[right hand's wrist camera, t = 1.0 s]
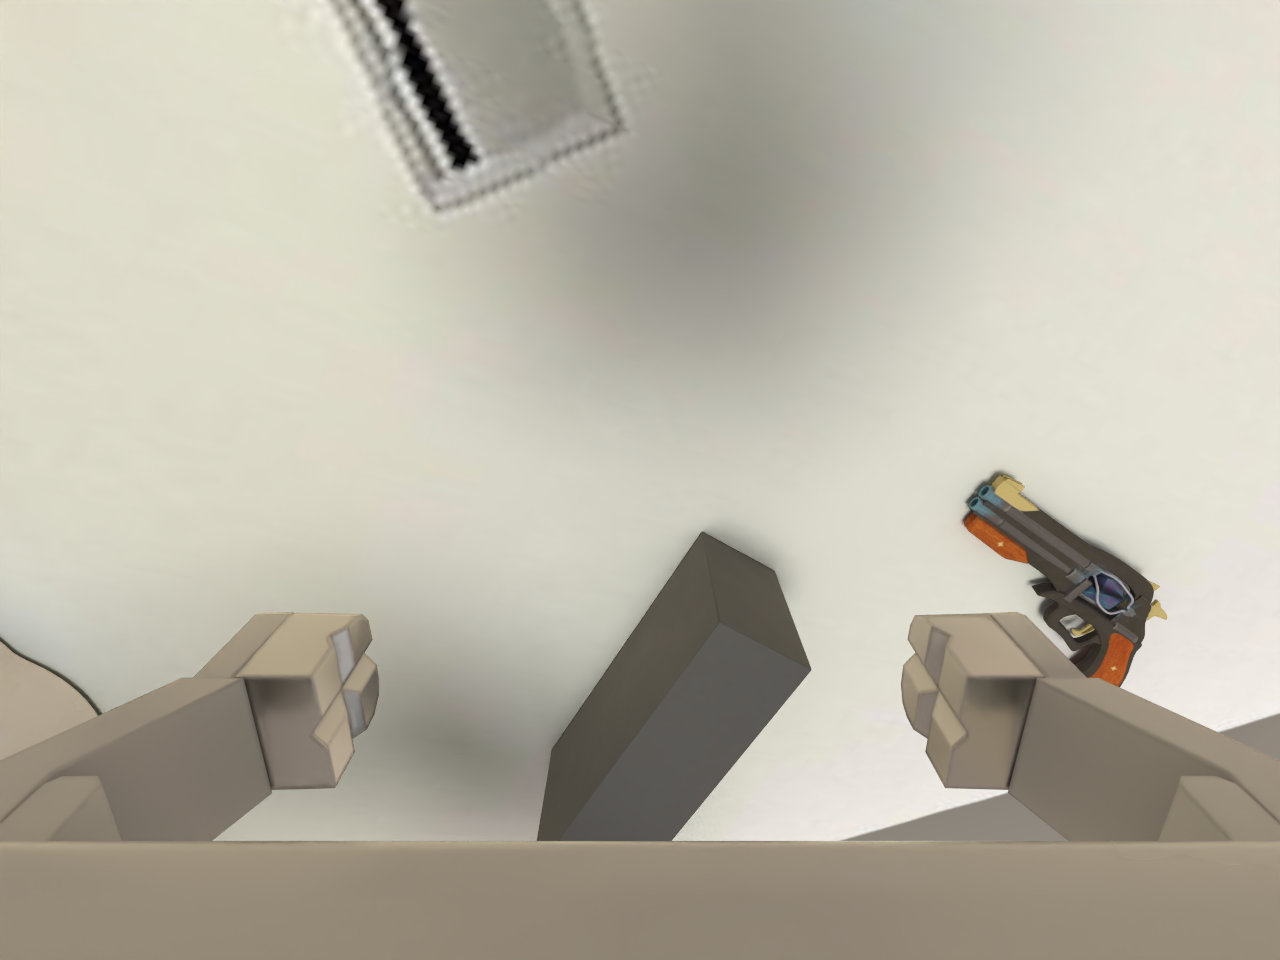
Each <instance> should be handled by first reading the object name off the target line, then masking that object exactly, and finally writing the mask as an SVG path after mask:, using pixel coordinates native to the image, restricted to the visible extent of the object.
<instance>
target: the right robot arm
mask: <svg viewBox="0 0 1280 960" xmlns="http://www.w3.org/2000/svg"><path fill="white" fill-rule="evenodd" d="M371 641H372V635H371V630H370V626H369V621H368V619H367V618H366V617H365V616H364V615H363V614H329V613H296V614H295V613H293V612H287V613H261V614H257V615H255V616H254V617H253V618H252V619H251V620H250V621H249V622H248V623H247V624H246V625H245V626H244V627H243V628H242V629H241V630H240V631H239V632H238V633H237V634H236V635H235V636H234V637H233V638H232V639H231V640H230V641H229V642H228V643H227V644H226V645H225V646H224V647H223V648H222V649H221V650H220V651H219V652H218V653H217V654H216V655H215V656H214V657H213V658H212V659H211V660H210V661H209V662H208V663H207V664H206V665H205V666H204V667H203V668H202V669H201V670H200V671H199V672H198V673H197V674H196V675H195V676H194V677H193V678H181V679H178V680H176V681H174V682H172V683H170V684H167V685H165V686H163V687H161V688H159V689H156V690H154V691H152V692H150V693H148V694H145V695H143V696H141V697H139V698H137V699H134V700H132V701H130V702H128V703H126V704H123V705H121V706H119V707H117V708H115V709H112V710H110V711H108V712H106V713H104V714H101V715H99V716H97V717H95V718H93V719H90V720H88V721H86V722H84V723H81V724H79V725H77V726H75V727H73V728H70V729H68V730H66V731H64V732H62V733H59V734H57V735H55V736H53V737H51V738H48V739H46V740H44V741H42V742H40V743H37V744H35V745H33V746H31V747H29V748H26V749H24V750H22V751H20V752H18V753H15V754H13V755H11V756H9V757H7V758H4V759H2V760H0V960H1280V761H1279V760H1277V759H1275V758H1273V757H1271V756H1268V755H1266V754H1264V753H1262V752H1260V751H1258V750H1255V749H1253V748H1251V747H1249V746H1247V745H1244V744H1242V743H1240V742H1238V741H1235V740H1233V739H1231V738H1229V737H1227V736H1225V735H1222V734H1220V733H1218V732H1216V731H1214V730H1211V729H1209V728H1207V727H1205V726H1203V725H1200V724H1198V723H1196V722H1194V721H1192V720H1189V719H1187V718H1185V717H1183V716H1181V715H1179V714H1176V713H1174V712H1172V711H1170V710H1168V709H1165V708H1163V707H1161V706H1159V705H1157V704H1154V703H1152V702H1150V701H1148V700H1146V699H1143V698H1141V697H1139V696H1137V695H1135V694H1132V693H1130V692H1128V691H1126V690H1124V689H1121V688H1119V687H1117V686H1115V685H1113V684H1110V683H1108V682H1106V681H1104V680H1102V679H1100V678H1087V677H1086V676H1085V675H1084V674H1083V673H1082V672H1081V671H1080V670H1079V669H1078V668H1077V667H1076V666H1075V665H1074V664H1073V663H1072V662H1071V661H1070V660H1069V659H1068V658H1067V657H1066V656H1065V655H1064V654H1063V653H1062V652H1061V651H1060V650H1059V649H1058V648H1057V647H1056V646H1055V645H1054V644H1053V643H1052V642H1051V641H1050V640H1049V639H1048V638H1047V637H1046V636H1045V635H1044V634H1043V633H1042V632H1041V631H1040V630H1039V629H1038V628H1037V627H1036V625H1035V624H1034V623H1033V622H1032V621H1031V620H1030V619H1029V618H1028V617H1027V616H1025V615H1023V614H1020V613H1018V612H1007V613H983V614H946V615H915V616H914V618H913V620H912V622H911V625H910V629H909V635H908V641H909V643H910V644H911V646H912V647H913V649H914V651H915V652H916V653H915V654H914V655H913V656H912V657H911V658H910V659H909V660H908V661H907V662H906V663H905V664H904V665H903V672H902V680H901V690H902V701H903V706H904V709H905V712H906V715H907V718H908V720H909V722H910V724H911V726H912V728H913V729H914V730H915V731H917V732H918V733H920V734H921V735H923V736H924V737H926V738H927V739H928V740H927V746H926V754H927V756H928V757H929V759H930V761H931V763H932V765H933V767H934V768H935V770H936V772H937V774H938V776H939V778H940V779H941V781H942V783H943V785H944V787H945V788H964V789H1000V790H1008V793H1009V794H1010V795H1012V796H1013V797H1014V798H1015V799H1017V800H1018V801H1019V802H1021V803H1022V804H1023V805H1024V806H1025V807H1027V808H1028V809H1029V810H1030V811H1032V812H1033V813H1034V814H1035V815H1037V816H1038V817H1039V818H1040V819H1042V820H1043V821H1044V822H1046V823H1047V824H1048V825H1049V826H1051V827H1052V828H1053V829H1054V830H1056V831H1057V832H1058V833H1059V834H1061V835H1062V836H1063V837H1064V838H1066V839H1067V840H1068V841H212V840H213V839H215V838H216V837H217V836H218V835H220V834H221V833H222V832H223V831H225V830H226V829H227V828H228V827H230V826H231V825H232V824H234V823H235V822H236V821H237V820H239V819H240V818H241V817H242V816H244V815H245V814H246V813H247V812H249V811H250V810H251V809H252V808H254V807H255V806H256V805H257V804H259V803H260V802H261V801H262V800H264V799H265V798H266V797H267V796H269V795H270V794H271V793H272V790H280V789H315V788H335V787H336V785H337V783H338V781H339V780H340V778H341V776H342V774H343V772H344V770H345V769H346V767H347V765H348V763H349V761H350V759H351V758H352V756H353V754H354V746H353V740H352V739H353V738H354V737H356V736H357V735H359V734H360V733H362V732H363V731H365V730H366V729H367V728H368V726H369V724H370V722H371V720H372V718H373V716H374V713H375V708H376V704H377V700H378V695H379V678H378V671H377V665H376V664H375V663H374V662H373V661H372V660H371V659H370V658H369V657H368V656H367V655H366V654H365V653H364V652H365V651H366V649H367V647H368V646H369V644H370V643H371Z"/></svg>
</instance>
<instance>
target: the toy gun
mask: <svg viewBox="0 0 1280 960" xmlns="http://www.w3.org/2000/svg"><path fill="white" fill-rule="evenodd" d="M1021 484H1022V483H1021V482H1019V481H1016V480H1014V479H1012V478H1010V477H1008V476H1006V475H1003V476H999V477H998V478H997V479H996V480H995V481H994V482H993V483H992V485H991V486H990V485H985V486H984V487H982V488H981V490H980V491H979V494H978V495H979V497H981V498H979V497H975V498H973V499H972V500H971V501H970V503H969V508H970V509H971V511H972V512H973V513H972V514H971V515H970V516H969V517H968V518H967V519H966V521H965V523H964V525H965V526H966V528H967V529H968V531H970V532H971V533H972V534H973V535H975V536H976V537H977V538H979V539H980V540H981V541H982V542H984V543H985V544H986V545H988V546H989V547H990V548H991V549H993V550H994V551H995V552H997V553H998V554H999V555H1001V556H1002V557H1004V558H1006V559H1009V560H1014V561H1018V562H1022V563H1027V564H1028V563H1029V564H1030V565H1032V566H1033V567H1034V568H1036V569H1037V570H1039V571H1040V572H1041V573H1043V574H1044V575H1045V576H1046V577H1047V578H1048V579H1049V580H1050V581H1051V583H1044V584H1038V585H1033V586H1032V588H1033V589H1034V591H1035V592H1036V593H1037V595H1039V596H1042V597H1045V598H1049V599H1051V600H1054V601H1055V602H1054V603H1053V604H1052V605H1051V606H1049V607H1048V608H1047V609H1046V611H1045V613H1044V616H1043V618H1044V621H1045V622H1046V623H1047V625H1048V626H1049V627H1050V628H1052V629H1053V630H1054V631H1056V632H1057V633H1058V634H1059V635H1060V636H1061V637H1062V638H1063V639H1064V641H1065V642H1066V644H1067V645H1068V647H1069V648H1070V649H1071V650H1072V651H1076V650H1078V649H1080V648H1082V647H1084V646H1086V645H1089V644H1092V643H1093V644H1092V646H1091V647H1090V649H1089V651H1088V653H1087V654H1086V656H1085V657H1084V658H1083V659H1082V660H1081V661H1079V662H1078V663H1076V664H1074V665H1075V666H1076V667H1077V668H1078V669H1079V670H1080V671H1081V672H1082V673H1083V674H1084V675H1085V676H1086V677H1087V678H1100V679H1102V680H1104V681H1106V682H1108V683H1110V684H1113V685H1115V686H1117V687H1119V688H1120V686H1121V685H1122V683H1123V681H1124V680H1125V678H1126V676H1127V674H1128V672H1129V669H1130V666H1131V663H1132V660H1133V657H1134V655H1135V653H1136V651H1137V650H1138V649H1139V648H1140V647H1141V646H1142V644H1141V642H1142V641H1143V639H1144V636H1145V622H1146V620H1148V619H1150V618H1152V617H1154V616H1157V617H1160V618H1163V619H1165V620H1166V619H1167V615H1166V613H1165V612H1164V611H1163V610H1162V609H1161V608H1160V603H1159V601H1158V600H1154V601H1153V602H1152V603H1151V601H1152V598H1153V593H1154V591H1155V590H1156V589H1158V588H1159V587H1160V586H1158V585H1156V584H1154V583H1152V582H1150V581H1148V580H1147V579H1146V578H1144V577H1143V576H1142V575H1141V574H1139V573H1138V572H1136V571H1135V570H1134V569H1132V568H1131V567H1130V566H1128V565H1127V564H1125V563H1124V562H1123V561H1121V560H1119V559H1118V558H1116V557H1114V556H1113V555H1111V554H1108V553H1106V552H1104V551H1102V550H1100V549H1097V548H1095V547H1092V546H1090V545H1089V544H1087V543H1086V542H1084V541H1083V540H1081V539H1080V538H1079V537H1077V536H1076V535H1074V534H1073V533H1072V532H1070V531H1069V530H1068V529H1066V528H1065V527H1063V526H1062V525H1061V524H1059V523H1058V522H1056V521H1055V520H1054V519H1052V518H1051V517H1050V516H1048V515H1047V514H1045V513H1044V512H1043V511H1041V510H1040V509H1039V508H1037V507H1036V506H1035V505H1034V504H1033V503H1031V502H1030V501H1029V500H1027V499H1026V498H1025V497H1023V496H1022V495H1021V494H1019V493H1020V492H1021V491H1022V490H1023V489H1024V488H1025V486H1023V485H1021ZM1111 573H1112V574H1114V575H1115V576H1117V577H1118V578H1120V579H1121V580H1123V581H1124V582H1125V583H1126V584H1128V586H1129V588H1130V592H1129V591H1128V589H1127V588H1126V587H1125V586H1124V584H1123V583H1122V581H1120V580H1119V579H1118V578H1116V577H1115V576H1113V575H1112V574H1111ZM1123 588H1124V590H1125V591H1126V592H1127V594H1126V595H1125V596H1124V594H1123ZM1081 593H1082V594H1083V595H1085V596H1087V597H1088V598H1090V599H1092V600H1093V601H1095V602H1096V603H1097V604H1098V606H1099V607H1100V608H1101V609H1102V610H1103V611H1104V612H1102V611H1100V610H1099V609H1097V608H1096V607H1095V606H1093V605H1092V604H1090V603H1089V602H1087V601H1085V600H1084V599H1082V598H1081V597H1079V595H1080V594H1081ZM1102 606H1103V607H1104V608H1106V609H1107V610H1105V609H1104V608H1103V607H1102ZM1074 614H1076V615H1078V616H1079V617H1081V618H1082V619H1084V620H1085V621H1086V622H1088V624H1087V625H1085V626H1084V627H1082V628H1081V629H1079V630H1076V629H1073V628H1071V632H1072V633H1073V635H1074V636H1079V635H1083V634H1086V635H1084V636H1081V637H1077V638H1073V637H1072V636H1071V635H1070V634H1069V632H1068V631H1067V630H1066V628H1065V627H1064V626H1063V625H1062V624H1061V623H1060V622H1059V621H1060V619H1062V618H1063V617H1065V616H1069V615H1074ZM1091 626H1092V627H1091ZM1088 628H1089V629H1088Z"/></svg>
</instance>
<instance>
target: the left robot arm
mask: <svg viewBox="0 0 1280 960" xmlns="http://www.w3.org/2000/svg"><path fill="white" fill-rule="evenodd" d="M97 716H98V715H97V713H96V712H95V710H94V709H93V708H92V706H91V705H90V704H89V703H88V702H87V700H86V699H85V698H84V697H83V696H82V695H81V694H80V693H79V692H78V691H77V690H75V689H74V688H73V687H72V686H71V685H69V684H68V683H67V682H65V681H64V680H63V679H61V678H60V677H58V676H57V675H55V674H53V673H51V672H50V671H48V670H46V669H44V668H42V667H40V666H38V665H36V664H34V663H32V662H30V661H27V660H25V659H23V658H22V657H20V656H18V655H16V654H15V653H13V652H12V651H11V650H10V649H9V648H8V647H6V646H5V645H4V644H3V643H2V642H1V641H0V760H2V759H4V758H7V757H9V756H11V755H13V754H15V753H18V752H20V751H22V750H24V749H26V748H29V747H31V746H33V745H35V744H37V743H40V742H42V741H44V740H46V739H48V738H51V737H53V736H55V735H57V734H59V733H62V732H64V731H66V730H68V729H70V728H73V727H75V726H77V725H79V724H81V723H84V722H86V721H88V720H90V719H93V718H95V717H97Z"/></svg>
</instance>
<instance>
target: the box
mask: <svg viewBox="0 0 1280 960" xmlns="http://www.w3.org/2000/svg"><path fill="white" fill-rule="evenodd" d="M810 671H811V667H810V664H809V661H808V659H807V656H806V653H805V651H804V648H803V645H802V643H801V640H800V638H799V635H798V632H797V630H796V627H795V624H794V622H793V619H792V616H791V614H790V611H789V608H788V606H787V603H786V600H785V598H784V595H783V592H782V590H781V587H780V584H779V582H778V579H777V576H776V574H775V571H773V570H772V569H770V568H768V567H766V566H764V565H762V564H760V563H759V562H757V561H755V560H753V559H751V558H749V557H748V556H746V555H744V554H742V553H740V552H738V551H736V550H735V549H733V548H731V547H729V546H727V545H725V544H724V543H722V542H720V541H718V540H716V539H714V538H713V537H711V536H709V535H707V534H705V533H703V532H702V533H701V534H700V535H699V537H698V538H697V540H696V541H695V543H694V544H693V546H692V547H691V548H690V550H689V551H688V553H687V554H686V556H685V557H684V559H683V560H682V562H681V563H680V564H679V566H678V567H677V569H676V570H675V572H674V573H673V575H672V576H671V578H670V579H669V580H668V582H667V583H666V585H665V586H664V588H663V589H662V591H661V592H660V594H659V595H658V596H657V598H656V599H655V601H654V602H653V604H652V605H651V607H650V608H649V610H648V611H647V612H646V614H645V615H644V617H643V618H642V620H641V621H640V623H639V624H638V626H637V627H636V628H635V630H634V631H633V633H632V634H631V636H630V637H629V639H628V640H627V642H626V643H625V644H624V646H623V647H622V649H621V650H620V652H619V653H618V655H617V656H616V658H615V659H614V660H613V662H612V663H611V665H610V666H609V668H608V669H607V671H606V672H605V674H604V675H603V676H602V678H601V679H600V681H599V682H598V684H597V685H596V687H595V688H594V690H593V691H592V692H591V694H590V695H589V697H588V698H587V700H586V701H585V703H584V704H583V706H582V707H581V708H580V710H579V711H578V713H577V714H576V716H575V717H574V719H573V720H572V722H571V723H570V724H569V726H568V727H567V729H566V730H565V732H564V733H563V735H562V736H561V738H560V739H559V740H558V742H557V743H556V745H555V746H554V748H553V749H552V752H551V758H550V764H549V770H548V776H547V783H546V789H545V795H544V801H543V807H542V813H541V819H540V825H539V831H538V837H537V841H672V840H673V838H674V837H675V836H676V835H677V833H678V832H679V831H680V830H681V829H682V827H683V826H684V825H685V824H686V822H687V821H688V820H689V819H690V818H691V816H692V815H693V814H694V813H695V811H696V810H697V809H698V808H699V807H700V805H701V804H702V803H703V802H704V800H705V799H706V798H707V797H708V796H709V794H710V793H711V792H712V791H713V789H714V788H715V787H716V786H717V785H718V783H719V782H720V781H721V780H722V778H723V777H724V776H725V775H726V774H727V772H728V771H729V770H730V769H731V767H732V766H733V765H734V764H735V763H736V761H737V760H738V759H739V758H740V757H741V755H742V754H743V753H744V752H745V750H746V749H747V748H748V747H749V746H750V744H751V743H752V742H753V741H754V739H755V738H756V737H757V736H758V735H759V733H760V732H761V731H762V730H763V728H764V727H765V726H766V725H767V724H768V722H769V721H770V720H771V719H772V717H773V716H774V715H775V714H776V713H777V711H778V710H779V709H780V708H781V706H782V705H783V704H784V703H785V702H786V700H787V699H788V698H789V697H790V695H791V694H792V693H793V692H794V691H795V689H796V688H797V687H798V686H799V684H800V683H801V682H802V681H803V680H804V678H805V677H806V676H807V675H808V674H809V672H810Z"/></svg>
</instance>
